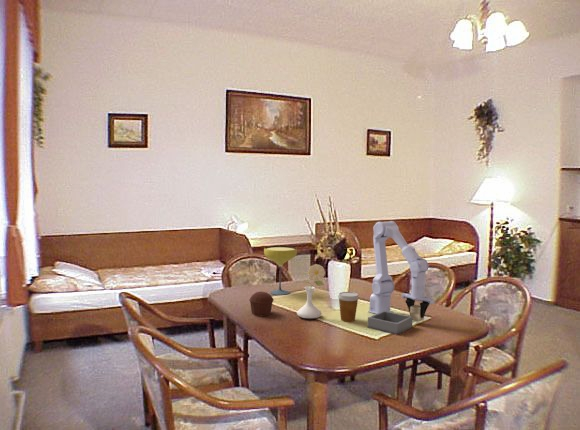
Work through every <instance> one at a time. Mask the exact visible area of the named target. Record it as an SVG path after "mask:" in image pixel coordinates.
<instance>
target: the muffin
mask: <svg viewBox="0 0 580 430" xmlns="http://www.w3.org/2000/svg"><path fill="white" fill-rule="evenodd" d="M249 302H250V308H251V309H250V310H251V311H250V312H251V314H252V315H253V316H258V317H266V316H270V314H271V313H272V307H273V302H274V297H273V296H272V294H271V293H268V292H266V291H257V292H254V293H253V294H252V295H251V297H250V298H249Z"/></svg>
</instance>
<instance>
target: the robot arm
mask: <svg viewBox="0 0 580 430" xmlns="http://www.w3.org/2000/svg"><path fill="white" fill-rule="evenodd" d="M372 228H373V237H372V238H373V239H372V241H373V251H374V263H375V271H376V275H375V276H374V278H372V284H371V285H372V286H371V289H372V292H373V293H371V295H370V297H369V311H368V313H371V314H374V315H375V314H377V313H380V312H382V311H387V312H392V313H395V312H394V310H391V299H392V297H391V296H392V295H393V292H394V290H395V283H394V280H393V277H392V276H391V275H390V274H389V270H388V269H389V268H388V258H387V247H386V241H387V240H388V239H389V238H390V239H392V240H393V241H394V242H395V244H396V245H397V246H398V247H399V248H400V249H401V255H402V256H403V257H404V258H405V260H406V261H407V263H408V264H409V265H408V267H409V268H408V269H409V270H410V275H411V292H410V293H405V292H403V293H401V299H405V304H406V306H407V308H408V312H409V314H410V307H411V306H413V305H415V302H416V301H417V302H419V306H420V307H421V318H424V319H425V316H426V315H425V314H426V312H427V309H428V307H429V306H430V304H431V305H433V304H435V298H432V297H428V296H425V291H426V290H425V289H426V286H425V285H426V272H427V271H428V270H429V267H430V265H429V263H428V261H427V259H425V258H423V257H422V256H420V255H419V254H418V252H417V250H416V248H415V247H413V245H409V244H408V243H407V241H406V239H405V238H404V237H403V235H402V233H401V232H400V227H399V226H398V225H397V223H396V222H395V221H393V220H390V221H377V222H376V223H375V224H374V225H373V227H372Z"/></svg>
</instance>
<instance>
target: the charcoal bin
mask: <svg viewBox="0 0 580 430" xmlns="http://www.w3.org/2000/svg"><path fill="white" fill-rule="evenodd" d="M413 322H414V321H413V317H411V316H410V315H406V314H405V315H404V314H402V313H401V314H400V313H396V312H394V313H392V312H387V311H382V312H380V313H377V314H375V313H374V314H373V315H370V316H368V317H367V328H368V329H371V330H375V331H379V332H384V333H388V334H392V335H396V336H397V335H400V334H402V333H403V332H406V331H407V330H409V329H411V328H413Z"/></svg>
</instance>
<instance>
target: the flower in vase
mask: <svg viewBox="0 0 580 430" xmlns="http://www.w3.org/2000/svg"><path fill="white" fill-rule="evenodd" d="M307 275H308V278H309V279H310V280H312V281H313V283H312V284H311V283H310V282H309V281H306V280H304V282H306V283H307V284H308V285H309V286H304V287H303V288H304V289H305V292H306V302H305V304H303V306H301V307H300V308H299V309H298V310H297V312H296V314H297V316H298V317H300V318H303V319H317V318H320V317H321V316H322V311H321V310H320V309H319V308H318V307H317V306H316V305H314V303H313V293H314V290H315V289H316V287H314V285H316V286H319V287H320V286H324V285H325V284H324V282H323V281H322V280H323V279H324V277H325V275H326V270H325V268H324V267H323V266H322V265H320V264H318V263H315V264H312V265H310V266H309V268H308V271H307ZM310 285H311V286H310Z"/></svg>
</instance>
